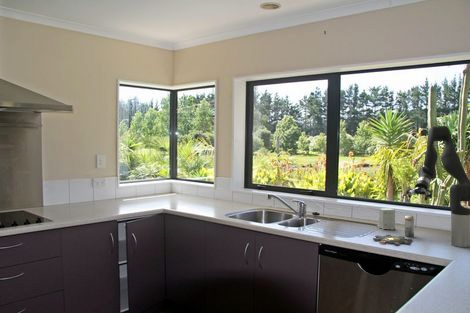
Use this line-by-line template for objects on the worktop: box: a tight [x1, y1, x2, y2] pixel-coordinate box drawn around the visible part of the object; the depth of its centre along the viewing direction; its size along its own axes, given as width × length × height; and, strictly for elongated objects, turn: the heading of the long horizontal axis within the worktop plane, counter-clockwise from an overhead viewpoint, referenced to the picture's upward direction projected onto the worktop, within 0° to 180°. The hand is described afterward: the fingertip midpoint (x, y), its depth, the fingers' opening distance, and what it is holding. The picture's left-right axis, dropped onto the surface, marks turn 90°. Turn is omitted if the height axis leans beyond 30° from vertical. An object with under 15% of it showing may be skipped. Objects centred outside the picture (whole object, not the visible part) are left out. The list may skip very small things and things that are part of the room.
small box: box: [378, 207, 396, 230], centre depth 252 cm, size 8×6×13 cm
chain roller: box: [404, 215, 415, 238], centre depth 231 cm, size 5×5×12 cm
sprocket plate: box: [372, 234, 414, 247], centre depth 221 cm, size 21×21×2 cm
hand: (417, 198), depth 230 cm, fingers open, 8 cm apart
